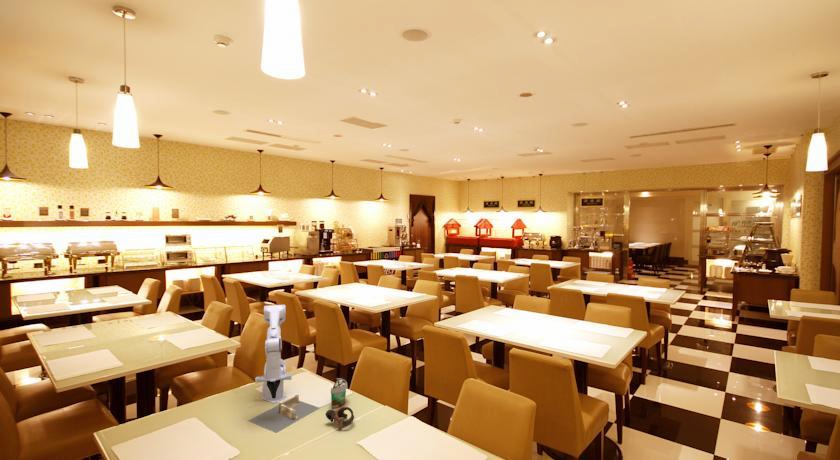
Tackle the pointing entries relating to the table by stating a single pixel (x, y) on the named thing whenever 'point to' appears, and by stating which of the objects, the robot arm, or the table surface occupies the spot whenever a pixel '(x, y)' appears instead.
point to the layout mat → (282, 417)
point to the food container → (338, 393)
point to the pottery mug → (340, 416)
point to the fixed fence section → (290, 402)
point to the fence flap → (288, 411)
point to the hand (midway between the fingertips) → (273, 397)
